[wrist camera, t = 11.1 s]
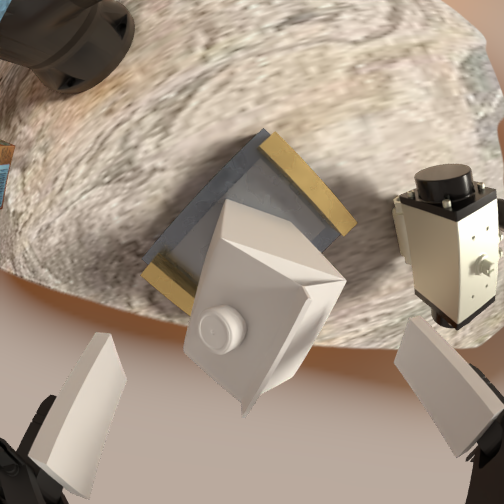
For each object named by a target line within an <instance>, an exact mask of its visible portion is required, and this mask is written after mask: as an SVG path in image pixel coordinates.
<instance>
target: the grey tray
mask: <svg viewBox="0 0 504 504" xmlns="http://www.w3.org/2000/svg"><path fill="white" fill-rule="evenodd" d="M226 199H229V200H232V201H234V202H237V203H240V204H243V205H246V206H249V207H252V208H254V209H257V210H260V211H263V212H266V213H268V214H271V215H274V216H277V217H279V218H282V219H285V220H287V221H290V222H291V223H292V224H293V225H294V226H295V227H296V228H297V229H298V230H299V231H300V232H301V233H302V234H303V235H304V236H305V237H306V238H307V239H308V240H309V241H310V242H311V243H312V244H313V245H314V246H315V247H316V248H317V249H318V250H319V251H320V252H321V253H322V252H323V251H324V250H325V249H326V248H327V247H328V246H329V245H330V244H331V243H332V242H333V241H334V240H335V239H336V238H337V237H338V236H339V235H340V234H341V235H342V236H345V235H346V234H347V233H348V232H349V231H350V230H351V229H352V228H353V227H354V226H355V225H356V224H357V222H356V220H355V219H354V218H353V217H352V215H351V214H350V213H349V212H348V210H347V209H346V208H345V207H344V206H343V204H342V203H341V202H340V201H339V200H338V198H337V197H336V196H335V195H334V194H333V193H332V191H331V190H330V189H329V188H328V187H327V186H326V185H325V183H324V182H323V181H322V180H321V179H320V178H319V177H318V176H317V174H316V173H315V172H314V171H313V170H312V169H311V168H310V167H309V166H308V165H307V164H306V162H305V161H304V160H303V159H302V158H301V157H300V156H299V155H298V154H297V153H296V152H295V151H294V150H293V149H292V148H291V147H290V146H289V145H288V144H287V143H286V142H285V141H284V140H283V139H282V138H281V137H280V136H279V135H278V134H277V133H276V132H274V133H272V134H271V135H270V134H269V133H268V132H267V131H266V130H265V129H264V128H263V129H262V130H261V131H260V132H259V133H258V134H257V135H256V136H255V137H253V138H252V139H251V140H250V141H249V142H248V143H247V144H246V145H245V146H244V147H243V148H242V149H241V150H240V151H239V152H238V153H237V154H236V155H235V156H234V157H233V158H232V159H231V160H230V161H229V162H228V163H227V164H226V165H225V166H224V167H223V168H222V169H221V170H220V171H219V172H218V173H217V174H216V175H215V176H214V177H213V178H212V179H211V180H210V182H209V183H208V184H207V185H206V186H205V187H204V188H203V189H202V190H201V191H200V192H199V193H198V194H197V195H196V196H195V198H194V199H193V200H192V201H191V202H190V203H189V204H188V205H187V206H186V207H185V209H184V210H183V211H182V212H181V213H180V214H179V215H178V216H177V218H176V219H175V220H174V221H173V222H172V223H171V224H170V226H169V227H168V228H167V229H166V230H165V231H164V233H163V234H162V235H161V236H160V237H159V238H158V240H157V241H156V242H155V243H154V244H153V246H152V247H151V248H150V249H149V251H148V252H147V253H146V254H145V255H144V257H143V258H142V260H143V261H145V262H146V263H147V264H148V266H147V267H146V268H145V270H144V271H143V272H142V274H141V275H140V276H142V277H143V278H144V279H145V280H146V281H147V282H149V283H150V284H151V285H152V286H153V287H154V288H156V289H157V290H158V291H159V292H160V293H162V294H163V295H164V296H165V297H167V298H168V299H169V300H170V301H171V302H173V303H174V304H175V305H176V306H178V307H179V308H180V309H181V310H183V311H184V312H185V313H186V314H188V315H189V316H191V311H192V307H193V303H194V299H195V295H196V291H197V287H198V284H199V280H200V276H201V272H202V268H203V265H204V261H205V257H206V254H207V251H208V248H209V245H210V242H211V239H212V236H213V233H214V230H215V227H216V225H217V222H218V219H219V216H220V213H221V210H222V207H223V205H224V202H225V200H226Z"/></svg>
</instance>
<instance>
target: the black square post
mask: <svg viewBox="0 0 504 504" xmlns="http://www.w3.org/2000/svg"><path fill="white" fill-rule="evenodd" d="M497 208H498V229H499V230H500V231H502V232H504V200H503V199H498V201H497Z"/></svg>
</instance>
